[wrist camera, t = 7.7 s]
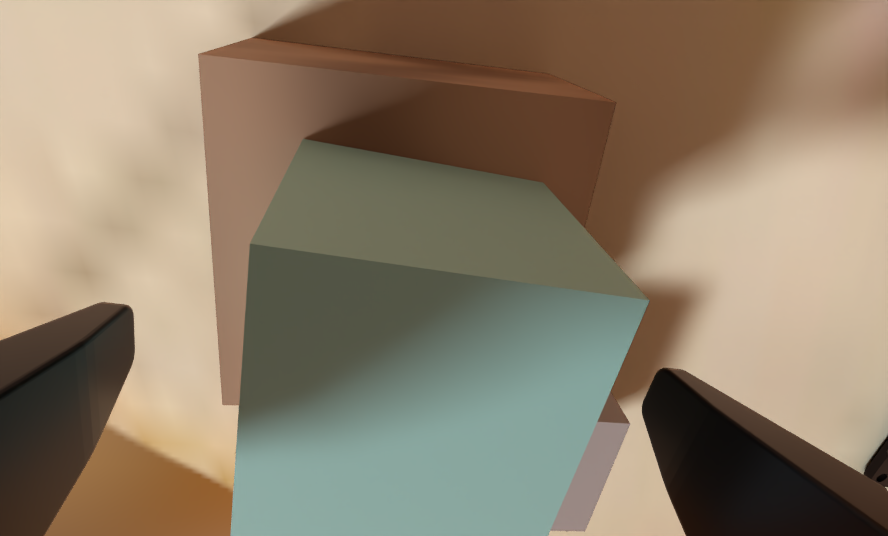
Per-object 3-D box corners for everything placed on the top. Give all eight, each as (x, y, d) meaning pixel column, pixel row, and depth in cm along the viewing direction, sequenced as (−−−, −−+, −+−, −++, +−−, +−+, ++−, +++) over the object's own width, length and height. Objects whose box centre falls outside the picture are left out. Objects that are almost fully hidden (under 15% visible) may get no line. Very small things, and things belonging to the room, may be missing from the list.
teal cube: (543, 182, 11) (649, 300, 7) (486, 371, 14) (539, 554, 9) (303, 138, 10) (249, 243, 6) (281, 349, 13) (229, 542, 8)
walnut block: (546, 72, 15) (615, 102, 11) (499, 313, 19) (538, 411, 14) (254, 37, 14) (198, 54, 10) (261, 302, 18) (222, 404, 13)
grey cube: (577, 336, 19) (630, 423, 15) (545, 431, 21) (584, 531, 17) (455, 325, 19) (478, 414, 15) (433, 424, 20) (448, 528, 16)
